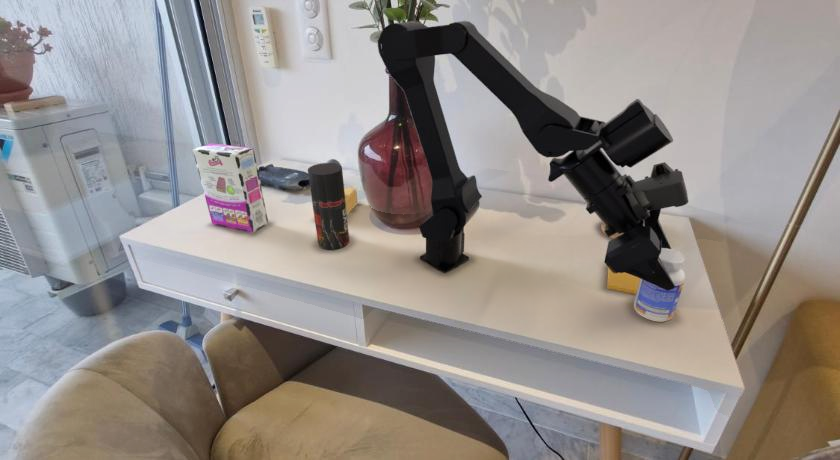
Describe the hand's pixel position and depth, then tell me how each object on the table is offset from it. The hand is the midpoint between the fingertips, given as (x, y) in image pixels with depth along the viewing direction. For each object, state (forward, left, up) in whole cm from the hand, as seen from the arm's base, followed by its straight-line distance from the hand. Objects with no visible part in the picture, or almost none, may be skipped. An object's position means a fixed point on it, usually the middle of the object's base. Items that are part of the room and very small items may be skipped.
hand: (670, 270), depth 61 cm
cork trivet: (+21, +14, -7) cm, 26 cm away
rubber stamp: (-16, +62, -7) cm, 64 cm away
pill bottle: (0, +1, -7) cm, 8 cm away
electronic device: (-17, +85, -7) cm, 87 cm away
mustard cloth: (+5, +6, -7) cm, 11 cm away
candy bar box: (-34, +71, -7) cm, 79 cm away
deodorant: (-24, +51, -7) cm, 57 cm away
